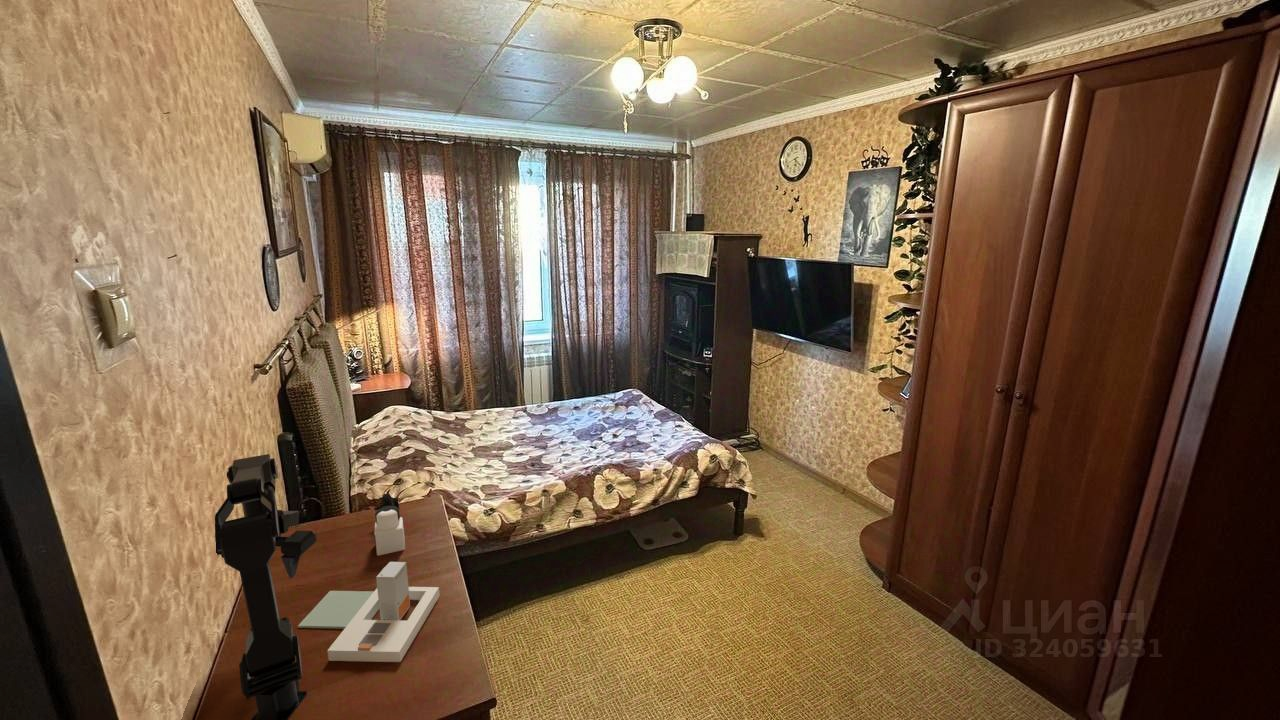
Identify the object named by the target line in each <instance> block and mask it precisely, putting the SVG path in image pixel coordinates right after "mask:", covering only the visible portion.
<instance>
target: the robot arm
mask: <svg viewBox="0 0 1280 720" xmlns="http://www.w3.org/2000/svg"><path fill="white" fill-rule="evenodd" d="M227 470H228V471H227V472H226V478H227V481H228V482H229V484H227V485H226V499H225V500H224V501H223V503H222V505H221V506H220V507H219V509H218V510H217V512H216V513H215V514H214V541H215V542H216V553H217V556H218V555H219V556H221V557H220V558H222V559H224V563H225V565H227V566H229V567H230V568H232V569H233V570H236V571H237V572H239V575H240V581H241V585H242V591H243V596H244V599H245V603H246V609H247V613H248V619H249V622H250V629H249V630H248V632H247V638H246V644H245V652H243V653H242V657H241V660H240V662H239V663H238V666H239V678H240V679H239V680H240V689H241V693H242V695H243V696H244V697H245V699H246V700H249V699H251V698H253V697H254V699H255V703H256V709H257V712H255V714H254V715H253V716H252V718H251V719H250V720H289V719H290V718H291V716H292V715H293V714H294V712H296V710H297V708H298V707H299V706H300V705H301V703H302V702H303V701H304V700H305V698H306V697H307V695H308V691H306V690H300V684H299V680H301V679H303V666H302V663H303V662H302V658H301V657H302V656H301V650H300V649H301V648H300V640H299V636H298V634H295V635H294V632H293V631H294V630H293V626H292V624H291V621H290V619H289V618H288V617H287V616H285V617H281V618H280V614H279V613H280V612H279V609H278V608H279V606H278V601H277V597H276V592H275V587H274V581H273V574H272V571H271V565H270V561H271V559H272V558H273V555H275V552H276V547H278V548H279V547H280V553H281V554H282V556H281V557H280V558H281V560H282V561H281V562H282V563H283V566H284V568H285V570H286V574H287V575H288V577H289V579H293V578H294V577H295V576H296V573H297V569H298V568H299V567H298V566H299V563H300V559H301V556H302V555H304V554H305V552H307V551H308V549H309V548H311V547H312V546H313V545H314V544H315V543H316V542H317V540H318V539H317V534H316V533H315V531H313V530H295V531H294V532H293V533H292V534H291V535H290V536H282V534H286V533H287V532H289V528H291V527H298V525H299V519H300V518H299V517H300V511H299V510H281V509H278V506H277V500H276V485H277V484H276V482H277V481H276V480H277V479H279V470H278V466H277V463H276V459H275V457H272V458H271V454H270V453H267V454H261V455H255V456H250V457H249V456H248V457H244V458H238V459H233V461H232V464H231V465H230V466H229V467H228V468H227ZM240 504H241V506H242V512H243V517H242V516H241V517H237V518H234V519H228V518H229V517H230V515H231V514H232V512H233V511H234V509H235V505H240Z"/></svg>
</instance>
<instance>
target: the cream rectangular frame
mask: <svg viewBox="0 0 1280 720" xmlns="http://www.w3.org/2000/svg"><path fill="white" fill-rule="evenodd" d="M408 587H409V597H410V601H411V600H413V601H418V604H416V606H415V608H414V609H413V611H412V613H411V614H410V615H409V617H408V619H407V620H404V619H403V620H402V619H401V620H381V619H373V618H374V617H375V615H376V614H377V612H378V611H380V609H379V599H378V590H377V587H376V588H375V590H374V592H373V593H372V595H371V596H370V597H369V599H368V600H367V601H366V602H365V604H364V605H363V606H362V607H361V609H360V610H359V611H358V612H357V614H356V615H355V616H354V617H353V619H352V620H351V621H350V623H349V624H348V625H347V626H346V628H345V629H342V631H341V633H340V634H339V635H338V636H337V638H336V639H335V640H334V641H333V643H332V644H331V645H330V646H329V648H328V649H327V658H328V661H330V662H372V663H373V662H376V663H378V662H379V663H381V662H382V663H401V662H402V660H403V658H404V657H405V655H406V654H407V652H408V650H409V648H410V647H411V645H412V643H413V642H414V641H415V639H416V637H417V635H418V633H419V632H420V631H421V629H422V627H423V625H424V623H425V622H426V620H427V618H428V616H429V615H430V614H431V611H432V610H433V608H434V606H435V605H436V603H437V602H438V601H439V598H440V597H439V596H440V587H439V586H438V587H437V586H408Z"/></svg>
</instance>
